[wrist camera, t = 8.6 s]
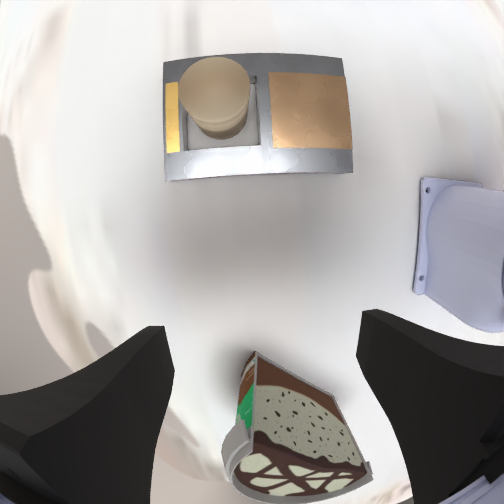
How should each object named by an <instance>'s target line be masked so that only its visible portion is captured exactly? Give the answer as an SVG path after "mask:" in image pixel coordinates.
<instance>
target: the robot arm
mask: <svg viewBox="0 0 504 504" xmlns="http://www.w3.org/2000/svg"><path fill="white" fill-rule="evenodd" d="M426 188H427V189H428V191H427V193H426ZM421 275H422V277H421V279H419V278H420V276H421ZM413 291H414V293H415V294H417V295H422V294H425V295H426V296H428V297H429V298H431V299H432V300H433V301H435V302H436V303H438V304H439V305H440V306H442V307H443V308H445V309H446V310H447V311H449V312H450V313H451V314H453V315H454V316H456V317H457V318H458V319H460V320H461V321H462V322H464V323H465V324H467V325H469V326H471V327H473V328H475V329H478V330H481V331H485V332H491V333H497V332H504V191H499V190H492V189H484V188H483V186H482V184H480V183H473V182H465V181H457V180H449V179H439V178H429V177H424V178H423V179H422V180H421V212H420V232H419V246H418V257H417V266H416V274H415V281H414V288H413ZM356 357H357V360H358V362H359V365H360V368H361V370H362V373H363V375H364V377H365V379H366V381H367V382H368V384H369V386H370V388H371V389H372V391H373V393H374V394H375V396H376V398H377V400H378V401H379V403H380V405H381V406H382V408H383V410H384V412H385V413H386V415H387V417H388V419H389V421H390V423H391V425H392V427H393V430H394V432H395V435H396V437H397V440H398V443H399V445H400V448H401V451H402V454H403V457H404V460H405V464H406V467H407V471H408V475H409V479H410V483H411V488H412V494H413V499H414V504H504V346H494V345H487V344H480V343H474V342H469V341H465V340H461V339H457V338H453V337H450V336H447V335H444V334H441V333H438V332H435V331H432V330H430V329H427V328H424V327H422V326H419V325H417V324H415V323H412V322H410V321H407V320H405V319H403V318H400V317H398V316H395V315H393V314H390V313H388V312H385V311H382V310H379V309H373V310H366V311H362V318H361V326H360V333H359V340H358V346H357V352H356ZM174 372H175V370H174V366H173V362H172V358H171V354H170V349H169V345H168V341H167V337H166V332H165V327H164V326H148V327H146V328H144V329H142V330H141V331H139V332H138V333H137V334H135V335H134V336H132V337H131V338H129V339H128V340H127V341H125V342H124V343H122V344H121V345H119V346H118V347H117V348H115V349H114V350H112V351H111V352H109V353H108V354H106V355H104V356H103V357H101V358H100V359H98V360H97V361H95V362H93V363H92V364H90V365H88V366H87V367H85V368H83V369H81V370H79V371H77V372H75V373H73V374H71V375H69V376H67V377H65V378H63V379H60V380H57V381H54V382H52V383H50V384H46V385H44V386H41V387H38V388H34V389H31V390H27V391H23V392H18V393H13V394H8V395H0V504H150V491H151V490H150V489H151V478H152V469H153V461H154V454H155V448H156V444H157V439H158V436H159V433H160V429H161V426H162V422H163V419H164V416H165V413H166V409H167V406H168V403H169V399H170V396H171V392H172V386H173V379H174Z"/></svg>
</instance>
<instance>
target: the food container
mask: <svg viewBox="0 0 504 504" xmlns="http://www.w3.org/2000/svg"><path fill="white" fill-rule="evenodd" d="M221 453H222V458H223V462H224V466H225V470H226V474H227V477H228V478H229V480H230V482H231V483H232V485H233V487H234V488H235V490H236V491H238V492H239V493H240V494H242V495H243V496H245V497H247V498H250V499H253V500H255V501H259V502H263V503H270V504H305V503H312V502H318V501H322V500H326V499H330V498H334V497H337V496H340V495H343V494H345V493H348V492H351V491H353V490H355V489H357V488H359V487H361V486H363V485H365V484H367V483H369V482H371V481H372V480H373V477H372V474H373V473H372V470H371V466H370V462H369V461H368V462H365V460H364V458H363V456H362V454H361V452H360V450H359V447H358V445H357V443H356V441H355V439H354V437H353V435H352V433H351V431H350V429H349V427H348V425H347V423H346V421H345V419H344V417H343V414H342V412H341V410H340V408H339V406H338V404H337V402H336V400H335V398H334V396H333V395H332V394H330V393H328V392H326V391H324V390H322V389H321V388H319V387H317V386H315V385H313V384H311V383H309V382H308V381H306V380H304V379H302V378H300V377H299V376H297V375H295V374H293V373H291V372H290V371H288V370H286V369H284V368H283V367H281V366H279V365H278V364H276V363H274V362H272V361H271V360H269V359H267V358H266V357H264V356H262V355H261V354H259V353H257V352H256V351H255V352H254V353H253V355H252V356H251V357H250V358H249V359H248V361H247V362H246V365H245V367H244V370H243V372H242V375H241V383H240V391H239V399H238V408H237V416H236V424H235V426H234V427H233V428H232V429H231V430H230V432H229V433H228V434H227V436H226V437H225V440H224V442H223V444H222V451H221Z"/></svg>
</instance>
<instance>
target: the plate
mask: <svg viewBox="0 0 504 504" xmlns="http://www.w3.org/2000/svg"><path fill="white" fill-rule="evenodd" d="M209 57H224V58H228V59H231V60H233V61H235V62H237V63H238V64H240V65H241V66H242V67H243V68H244V69H245V71H246V72H247V74H248V76H249V80H250V84H253V83H255V85H256V100H257V117H258V134H259V145H256V146H237V147H222V148H210V149H199V150H189V151H188V145H187V118H186V109H185V108H184V107H183V105H182V104H181V102H180V99H179V95H178V86H179V82H180V79H181V77H182V75H183V74H184V72H185V71H186V70H187V69H188V68H189V67H190V66H191V65H193V64H194V63H196V62H197V61H199V60H202V59H205V58H209ZM163 139H164V162H165V179H166V181H176V180H186V179H196V178H208V177H220V176H235V175H253V174H277V173H353V160H352V134H351V122H350V112H349V102H348V94H347V86H346V78H345V75H344V69H343V62H342V58H335V57H326V56H316V55H304V54H284V53H246V54H226V55H214V56H204V57H195V58H187V59H181V60H174V61H168V62H163Z"/></svg>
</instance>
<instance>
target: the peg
mask: <svg viewBox="0 0 504 504" xmlns="http://www.w3.org/2000/svg"><path fill="white" fill-rule="evenodd" d="M249 94H250V80H249V76H248V74H247V72H246V71H245V69H244V68H243V67H242V66H241V65H240V64H238V63H237V62H235V61H233V60H231V59H228V58H224V57H209V58H205V59H202V60H199V61H197V62H196V63H194V64H193V65H191V66H190V67H189V68H188V69H187V70H186V71H185V72H184V74H183V75H182V77H181V79H180V82H179V86H178V95H179V99H180V102H181V104H182V105H183V107H184V108H185V109H186V111H187V112H188V113H189V115H190V116H191V117H192V118H193V120H194V121H195V122H196V124H197V125H198V126H199V128H200V129H201V130H202V132H203V133H204V134H206V135H207V136H209V137H211V138H214V139H228V138H231V137H233V136H235V135H236V134H238V133H239V132H240V131H241V130H242V128H243V127H244V125H245V122H246V118H247V110H248V102H249Z"/></svg>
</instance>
